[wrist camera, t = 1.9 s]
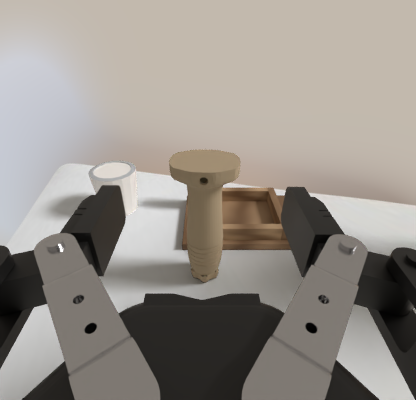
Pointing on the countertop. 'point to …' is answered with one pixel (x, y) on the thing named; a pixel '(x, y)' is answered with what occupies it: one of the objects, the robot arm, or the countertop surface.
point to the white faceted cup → (117, 181)
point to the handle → (204, 204)
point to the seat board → (249, 220)
